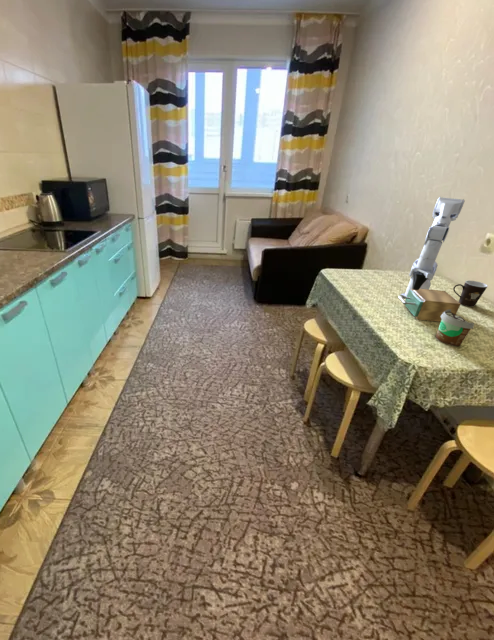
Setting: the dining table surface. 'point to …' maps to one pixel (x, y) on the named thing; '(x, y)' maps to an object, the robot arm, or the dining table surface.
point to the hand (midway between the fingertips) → (415, 289)
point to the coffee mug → (471, 292)
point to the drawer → (412, 302)
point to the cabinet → (435, 304)
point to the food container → (453, 329)
